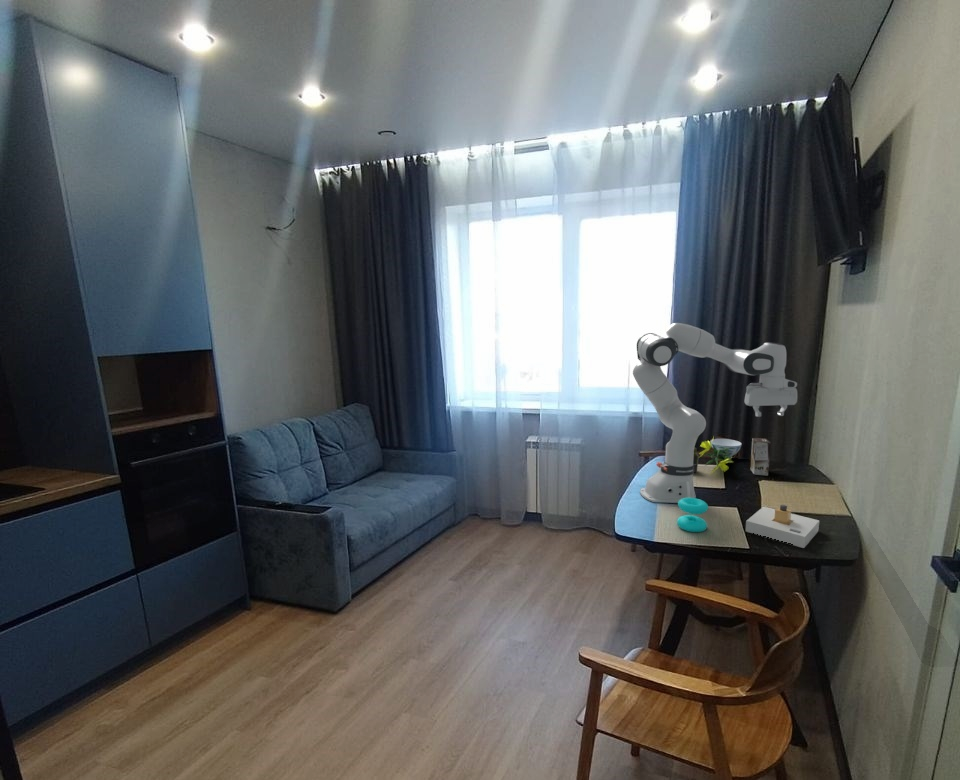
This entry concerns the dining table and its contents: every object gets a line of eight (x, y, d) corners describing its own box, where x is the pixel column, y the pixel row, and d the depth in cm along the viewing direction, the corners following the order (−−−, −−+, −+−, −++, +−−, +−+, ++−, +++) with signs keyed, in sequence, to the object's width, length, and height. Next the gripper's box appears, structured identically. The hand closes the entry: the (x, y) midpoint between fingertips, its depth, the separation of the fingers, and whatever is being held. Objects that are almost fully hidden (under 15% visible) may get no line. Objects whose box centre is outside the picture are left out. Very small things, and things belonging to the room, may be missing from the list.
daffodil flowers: (748, 466, 249) (735, 465, 222) (720, 476, 257) (704, 477, 229) (732, 435, 256) (717, 431, 228) (705, 447, 263) (687, 443, 235)
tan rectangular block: (773, 531, 174) (775, 505, 173) (776, 527, 177) (779, 502, 176) (786, 534, 172) (788, 509, 170) (789, 531, 174) (791, 505, 173)
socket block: (745, 531, 175) (746, 519, 174) (762, 516, 187) (763, 505, 186) (803, 548, 162) (805, 536, 161) (818, 531, 174) (819, 519, 173)
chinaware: (744, 455, 264) (745, 441, 263) (735, 462, 253) (736, 447, 252) (715, 450, 274) (715, 437, 273) (705, 456, 264) (706, 442, 262)
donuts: (705, 509, 170) (675, 503, 176) (703, 536, 172) (674, 529, 178) (710, 499, 178) (681, 494, 184) (709, 525, 180) (680, 519, 186)
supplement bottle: (692, 474, 235) (693, 450, 234) (679, 471, 241) (680, 447, 239) (700, 471, 239) (701, 448, 238) (687, 468, 245) (688, 445, 243)
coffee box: (768, 476, 232) (771, 443, 229) (753, 474, 234) (755, 442, 231) (764, 470, 240) (766, 438, 238) (749, 468, 242) (752, 437, 240)
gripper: (751, 384, 194) (749, 418, 196) (801, 382, 195) (798, 416, 197) (742, 382, 200) (740, 415, 203) (790, 380, 201) (787, 413, 204)
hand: (769, 415), depth 200 cm, fingers open, 8 cm apart
